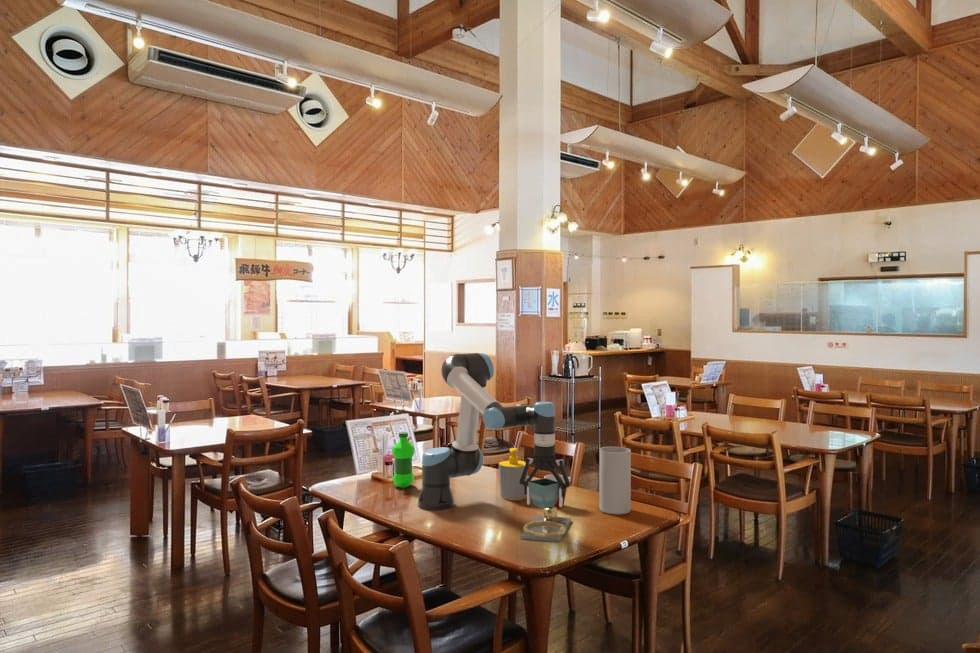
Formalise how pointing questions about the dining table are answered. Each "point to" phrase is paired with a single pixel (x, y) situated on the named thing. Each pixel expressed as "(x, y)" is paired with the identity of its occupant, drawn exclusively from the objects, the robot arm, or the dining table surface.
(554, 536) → the board
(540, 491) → the flower pot
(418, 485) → the dining table surface
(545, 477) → the plastic cup
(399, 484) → the plastic bottle
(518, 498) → the soap bottle
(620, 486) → the cylinder vase
